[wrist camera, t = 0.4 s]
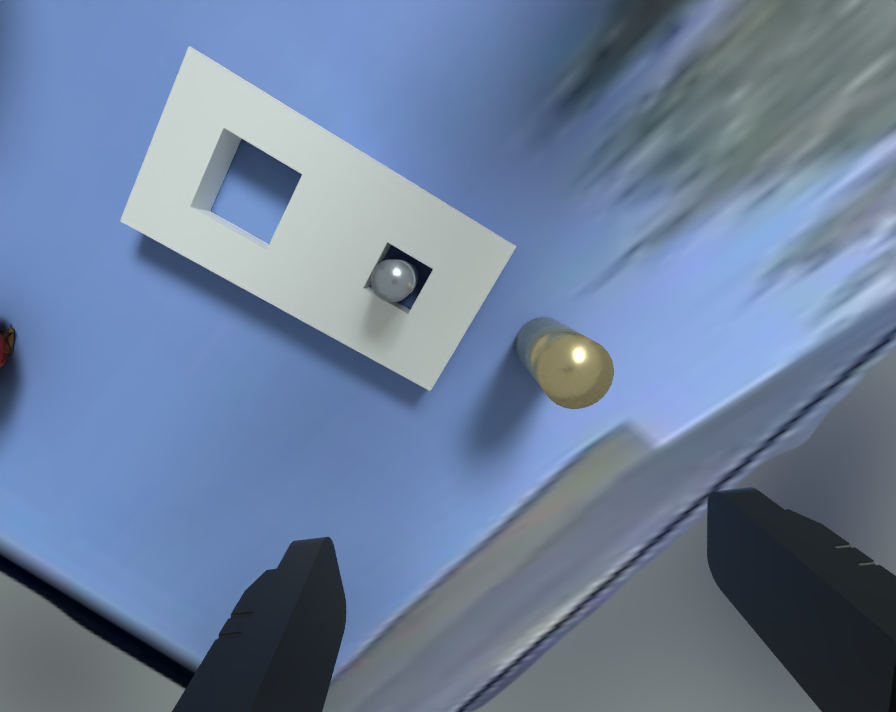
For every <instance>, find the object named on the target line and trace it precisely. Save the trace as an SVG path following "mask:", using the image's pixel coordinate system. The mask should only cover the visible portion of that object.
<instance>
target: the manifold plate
mask: <svg viewBox="0 0 896 712" xmlns="http://www.w3.org/2000/svg"><path fill="white" fill-rule="evenodd" d="M241 139H243V140H245V141H247V142H248V143H250V144H252V145H253V146H255V147H257V148H259V149H260V150H262V151H264V152H265V153H267V154H269V155H270V156H272V157H274V158H275V159H277V160H279V161H280V162H282V163H284V164H285V165H287V166H289V167H290V168H292V169H294V170H296V171H297V172H299V173H301V174H302V176H301V178H300V180H299V183H298V185H297V187H296V189H295V191H294V193H293V195H292V197H291V200H290V202H289V204H288V206H287V208H286V210H285V212H284V214H283V216H282V219H281V221H280V223H279V225H278V227H277V229H276V231H275V233H274V236H273V238H272V240H271V242H270V244H267V243H266V242H264V241H262V240H260V239H259V238H257V237H255V236H253V235H252V234H250V233H248V232H246V231H245V230H243V229H241V228H239V227H237V226H236V225H234V224H232V223H230V222H229V221H227V220H225V219H223V218H222V217H220V216H218V215H216V214H215V213H213V212H211V208H212V206H213V204H214V201H215V199H216V197H217V195H218V192H219V190H220V188H221V185H222V183H223V181H224V178H225V176H226V174H227V172H228V169H229V167H230V165H231V162H232V160H233V158H234V156H235V153H236V151H237V149H238V146H239V144H240V142H241ZM120 221H121V222H123V223H125V224H126V225H128V226H130V227H132V228H134V229H136V230H137V231H139V232H141V233H143V234H145V235H146V236H148V237H150V238H152V239H154V240H156V241H157V242H159V243H161V244H163V245H165V246H167V247H168V248H170V249H172V250H174V251H176V252H177V253H179V254H181V255H183V256H185V257H187V258H188V259H190V260H192V261H194V262H196V263H197V264H199V265H201V266H203V267H205V268H207V269H208V270H210V271H212V272H214V273H216V274H218V275H219V276H221V277H223V278H225V279H227V280H228V281H230V282H232V283H234V284H236V285H238V286H239V287H241V288H243V289H245V290H247V291H248V292H250V293H252V294H254V295H256V296H258V297H259V298H261V299H263V300H265V301H267V302H269V303H270V304H272V305H274V306H276V307H278V308H279V309H281V310H283V311H285V312H287V313H289V314H290V315H292V316H294V317H296V318H298V319H299V320H301V321H303V322H305V323H307V324H309V325H310V326H312V327H314V328H316V329H318V330H320V331H321V332H323V333H325V334H327V335H329V336H330V337H332V338H334V339H336V340H338V341H340V342H341V343H343V344H345V345H347V346H349V347H350V348H352V349H354V350H356V351H358V352H360V353H361V354H363V355H365V356H367V357H369V358H371V359H372V360H374V361H376V362H378V363H380V364H381V365H383V366H385V367H387V368H389V369H391V370H392V371H394V372H396V373H398V374H400V375H401V376H403V377H405V378H407V379H409V380H411V381H412V382H414V383H416V384H418V385H420V386H422V387H423V388H425V389H427V390H429V391H431V389H432V388H433V386H434V384H435V383H436V381H437V379H438V378H439V376H440V374H441V373H442V371H443V369H444V368H445V366H446V364H447V362H448V361H449V359H450V357H451V356H452V354H453V352H454V351H455V349H456V347H457V346H458V344H459V342H460V341H461V339H462V337H463V336H464V334H465V332H466V331H467V329H468V327H469V326H470V324H471V322H472V321H473V319H474V317H475V315H476V314H477V312H478V310H479V309H480V307H481V305H482V304H483V302H484V300H485V299H486V297H487V295H488V294H489V292H490V290H491V289H492V287H493V285H494V284H495V282H496V280H497V279H498V277H499V275H500V273H501V272H502V270H503V268H504V267H505V265H506V263H507V262H508V260H509V258H510V257H511V255H512V253H513V252H514V250H515V248H516V247H517V246H515V245H513V244H512V243H510V242H508V241H507V240H505V239H503V238H502V237H500V236H499V235H497V234H495V233H494V232H492V231H490V230H489V229H487V228H486V227H484V226H482V225H481V224H479V223H477V222H476V221H474V220H472V219H471V218H469V217H468V216H466V215H464V214H463V213H461V212H459V211H458V210H456V209H455V208H453V207H451V206H450V205H448V204H446V203H445V202H443V201H441V200H440V199H438V198H437V197H435V196H433V195H432V194H430V193H428V192H427V191H425V190H423V189H422V188H420V187H419V186H417V185H415V184H414V183H412V182H410V181H409V180H407V179H406V178H404V177H402V176H401V175H399V174H397V173H396V172H394V171H392V170H391V169H389V168H388V167H386V166H384V165H383V164H381V163H379V162H378V161H376V160H375V159H373V158H371V157H370V156H368V155H366V154H365V153H363V152H361V151H360V150H358V149H357V148H355V147H353V146H352V145H350V144H348V143H347V142H345V141H344V140H342V139H340V138H339V137H337V136H335V135H334V134H332V133H330V132H329V131H327V130H326V129H324V128H322V127H321V126H319V125H317V124H316V123H314V122H312V121H311V120H309V119H308V118H306V117H304V116H303V115H301V114H299V113H298V112H296V111H295V110H293V109H291V108H290V107H288V106H286V105H285V104H283V103H281V102H280V101H278V100H277V99H275V98H273V97H272V96H270V95H268V94H267V93H265V92H264V91H262V90H260V89H259V88H257V87H255V86H254V85H252V84H250V83H249V82H247V81H246V80H244V79H242V78H241V77H239V76H237V75H236V74H234V73H233V72H231V71H229V70H228V69H226V68H224V67H223V66H221V65H219V64H218V63H216V62H215V61H213V60H211V59H210V58H208V57H206V56H205V55H203V54H201V53H200V52H198V51H197V50H195V49H193V48H192V47H190V46H189V47H188V50H187V52H186V55H185V57H184V60H183V62H182V65H181V67H180V70H179V72H178V75H177V78H176V80H175V83H174V85H173V88H172V90H171V93H170V95H169V98H168V100H167V103H166V106H165V108H164V111H163V113H162V116H161V118H160V121H159V123H158V126H157V128H156V131H155V134H154V136H153V139H152V141H151V144H150V146H149V149H148V151H147V154H146V156H145V159H144V162H143V164H142V167H141V169H140V172H139V174H138V177H137V179H136V182H135V184H134V187H133V190H132V192H131V195H130V197H129V200H128V202H127V205H126V207H125V210H124V212H123V215H122V217H121V220H120ZM391 245H393V246H395V247H396V248H398V249H400V250H401V251H403V252H405V253H406V254H408V255H410V256H412V257H413V258H415V259H417V260H418V261H420V262H422V263H423V264H425V265H427V266H429V267H430V268H432V269H433V270H432V272H431V274H430V276H429V278H428V279H427V281H426V283H425V285H424V286H423V288H422V290H421V292H420V294H419V295H418V297H417V299H416V301H415V303H414V304H413V306H412V308H411V310H410V309H408V308H406V307H405V306H403V305H401V304H399V303H398V302H387V301H384V300H382V299H380V298H379V297H378V296H377V295H376V294H375V293H374V291H373V289H372V288H371V287H370V284H371V274H372V272H373V270H374V268H375V267H376V266H377V265H378V264H379V263H381V262H382V261H383V259H384V258H385V256H386V254H387V252H388V250H389V248H390V246H391Z"/></svg>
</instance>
